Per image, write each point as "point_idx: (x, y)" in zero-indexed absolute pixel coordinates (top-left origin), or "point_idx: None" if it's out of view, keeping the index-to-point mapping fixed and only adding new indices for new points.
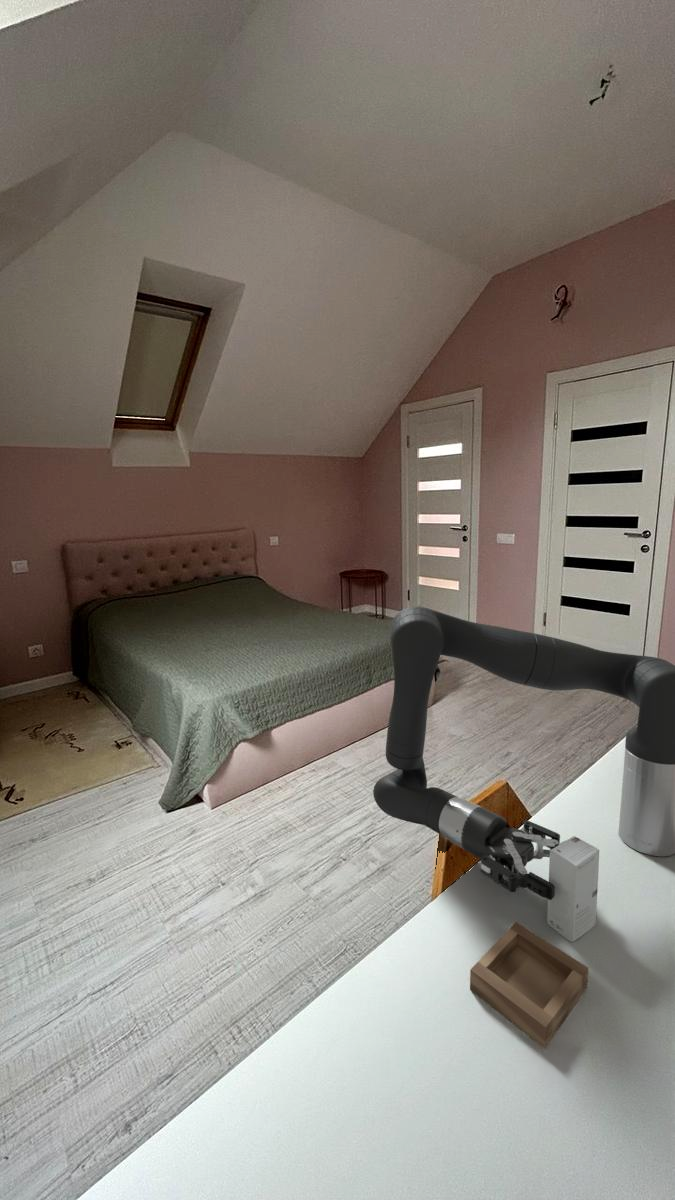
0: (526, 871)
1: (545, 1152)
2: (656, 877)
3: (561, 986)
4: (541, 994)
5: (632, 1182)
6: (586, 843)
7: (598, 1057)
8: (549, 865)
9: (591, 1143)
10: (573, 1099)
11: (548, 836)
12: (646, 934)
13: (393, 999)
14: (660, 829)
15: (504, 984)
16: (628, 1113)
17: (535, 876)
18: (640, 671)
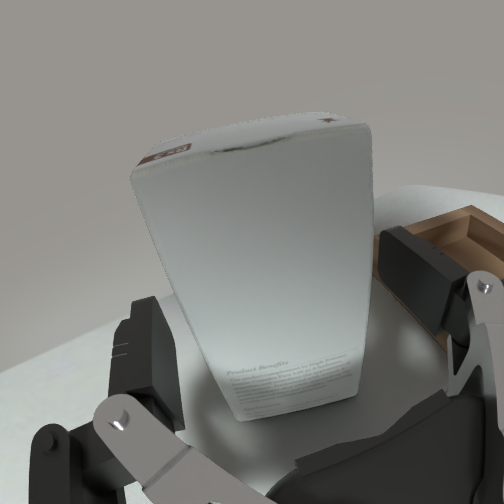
0: (470, 280)
1: (481, 200)
2: (18, 374)
3: (435, 225)
4: (457, 259)
5: (426, 186)
6: (155, 149)
7: (409, 224)
8: (373, 213)
9: (446, 197)
10: (450, 211)
11: (81, 489)
12: (170, 314)
13: None
14: None
15: None
16: (406, 201)
17: (437, 260)
18: None
